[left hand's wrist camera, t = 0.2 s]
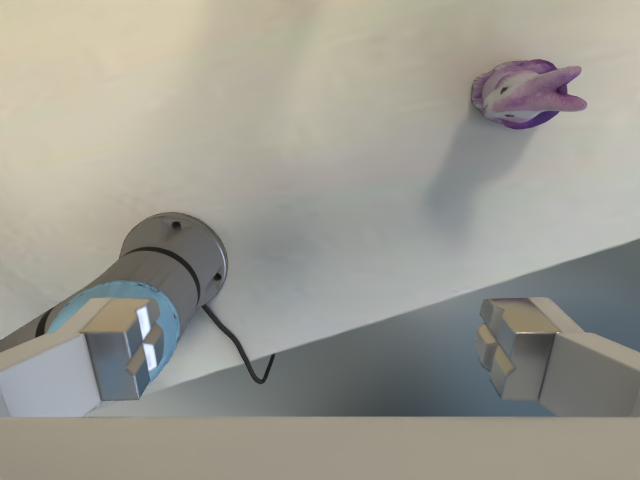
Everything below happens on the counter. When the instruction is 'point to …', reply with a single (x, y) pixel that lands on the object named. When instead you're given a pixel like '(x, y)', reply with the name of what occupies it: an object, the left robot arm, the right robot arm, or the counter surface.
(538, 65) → the figurine
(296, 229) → the counter surface
